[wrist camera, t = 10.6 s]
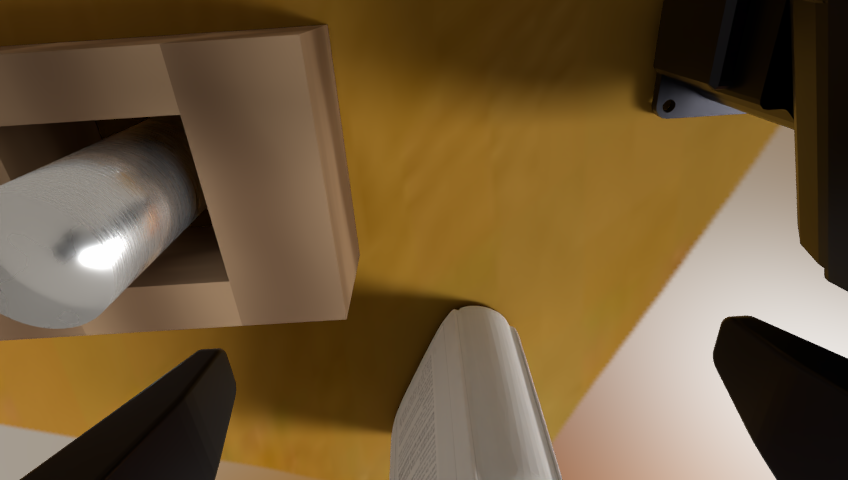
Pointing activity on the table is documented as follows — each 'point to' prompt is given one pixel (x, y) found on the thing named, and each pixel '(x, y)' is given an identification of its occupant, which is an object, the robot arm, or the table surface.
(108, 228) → the silver upright cylinder
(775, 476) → the robot arm
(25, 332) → the hole board
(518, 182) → the table surface
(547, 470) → the white rounded printed block
